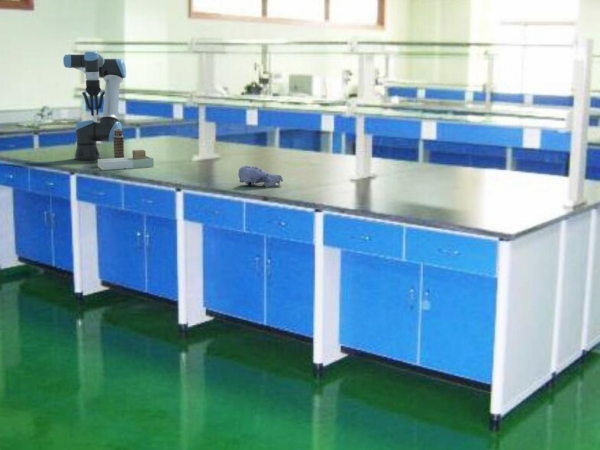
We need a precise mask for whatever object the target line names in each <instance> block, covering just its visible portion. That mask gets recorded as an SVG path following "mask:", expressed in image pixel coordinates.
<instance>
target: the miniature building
mask: <svg viewBox="0 0 600 450" xmlns="http://www.w3.org/2000/svg"><path fill="white" fill-rule="evenodd" d="M113 137H114V139H113V140H114V141H113V154H114V155H113V158H125V150H124V149H125V147H124V146H125V143H124V142H125V139H124V135H123V129H114V136H113Z"/></svg>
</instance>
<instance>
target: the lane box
mask: <svg viewBox="0 0 600 450" xmlns="http://www.w3.org/2000/svg"><path fill="white" fill-rule="evenodd" d="M154 162H155V161H154V157H152V156H149V155H146V159H139V160H133V156H131V157H128V156H127V157H124V158H114V157H113V158H100V159H97V168H98V169H100V170H102V171H107V170H108V171H109V170H111V171H112V170H123V169H124V168H126V169H138V168H139V169H140V168H152V167H153V168H154V166H155V165H154Z"/></svg>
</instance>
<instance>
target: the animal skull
mask: <svg viewBox="0 0 600 450" xmlns="http://www.w3.org/2000/svg"><path fill="white" fill-rule="evenodd" d="M237 174H238V178H239V183H241V184H242V183H245V184H246V185H250V186H252V185H254V184H256V185H257V184H259V183H263V185H264V187H266V188H270V187H275V186H276V184H278V186H280V184H281V182H284V180H283V177H282V176H281V175H279V174H272V173H269V172H268V171H265V170H264V169H262V168H260V167H257V166H251V165H250V166H248V165H243V166H240V168H239V169H238V173H237Z"/></svg>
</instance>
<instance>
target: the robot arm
mask: <svg viewBox="0 0 600 450" xmlns="http://www.w3.org/2000/svg"><path fill="white" fill-rule="evenodd" d="M62 60H63V61H62V62H63V66H64V68H65V69H66V68H68V69H76V70H78V71H82V72H83V73H84V74H85V79H86V80H85V90H84V91H82V92H81V94H82V96H83V98H84V101H85V105H86V109H88V110H90V116H91V117H92V119H89V120H88V119H86V120H81V121H78V122H76V123H75V133H76V134H75V135H76V137H75V138H76V148H75V152H74V160H76V161H94V160H95V161H96V160H98V159H101V153H100V151H99V148H98V145H97V142H103V143H105V142H107V143H108V142H109V143H110V142H111V143H112V142H114V140H113V139H114V137H113V136H114V129H122V128H123V125H122V123H121V122H120V120H119V118H118V112H119V111H118V109H119V99H120V86H121V83H122V82H123V80H124V79H125V78H127V70H126V69H127V68H126V63H125V61H124V60H123V59H122V58H104V56H103V55H101V54H99V53H98V51H85V52H84V54H71V53H69V54H64V56H63V59H62ZM100 79H103V81H105V86H104V90H102V89H101V85H100V84H101V83H100ZM87 94H88V95H87ZM99 94H100V95H99ZM88 96H89V98H88ZM98 97H99V98H98ZM98 99H99V100H98ZM102 105H103V106H102ZM102 107H103V110H102V116H101V117H100V118H99V121H98V116H99V110H100V109H102ZM122 130H123V129H122Z"/></svg>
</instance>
